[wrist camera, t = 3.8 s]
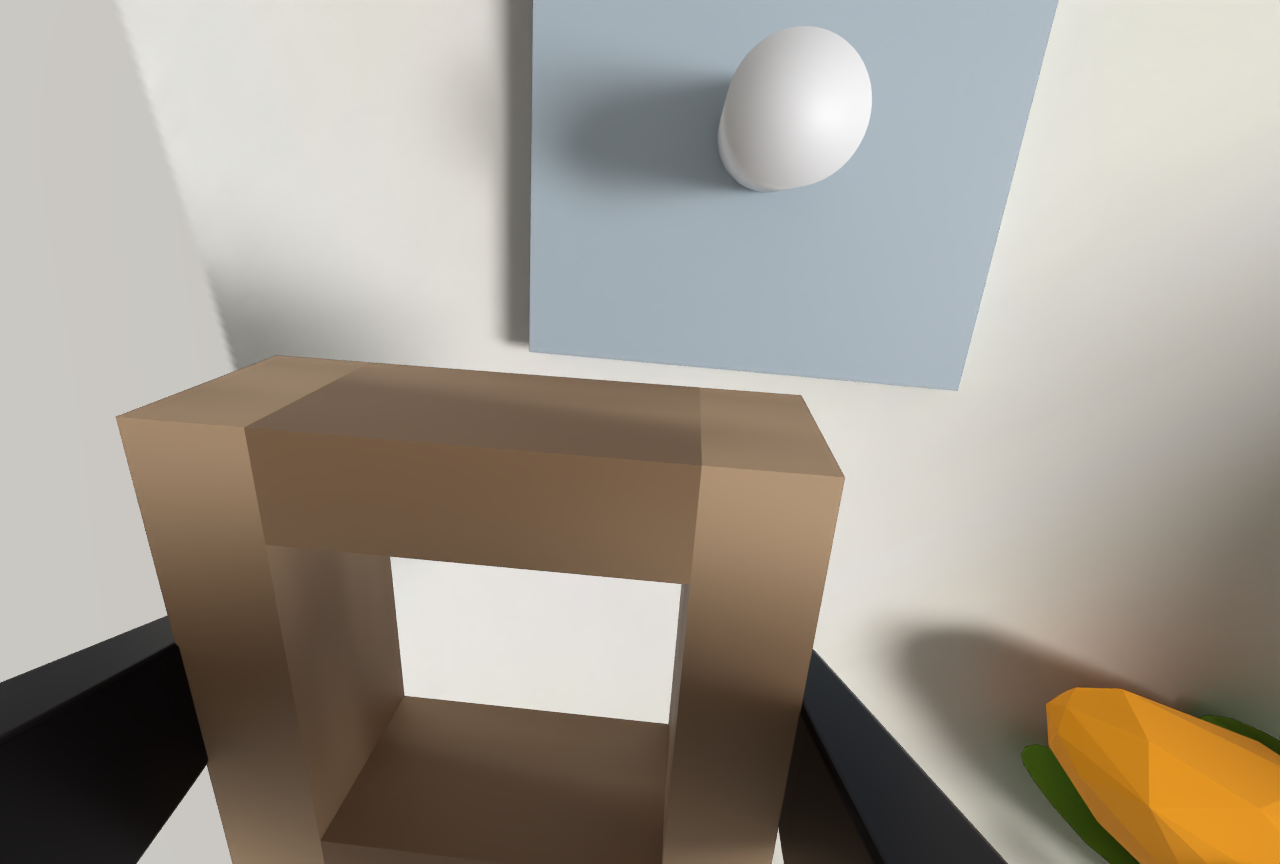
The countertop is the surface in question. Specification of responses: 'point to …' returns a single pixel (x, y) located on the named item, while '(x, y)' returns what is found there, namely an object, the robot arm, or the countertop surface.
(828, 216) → the base plate with peg
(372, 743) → the square wooden frame
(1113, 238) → the countertop surface
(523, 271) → the countertop surface
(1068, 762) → the corn
